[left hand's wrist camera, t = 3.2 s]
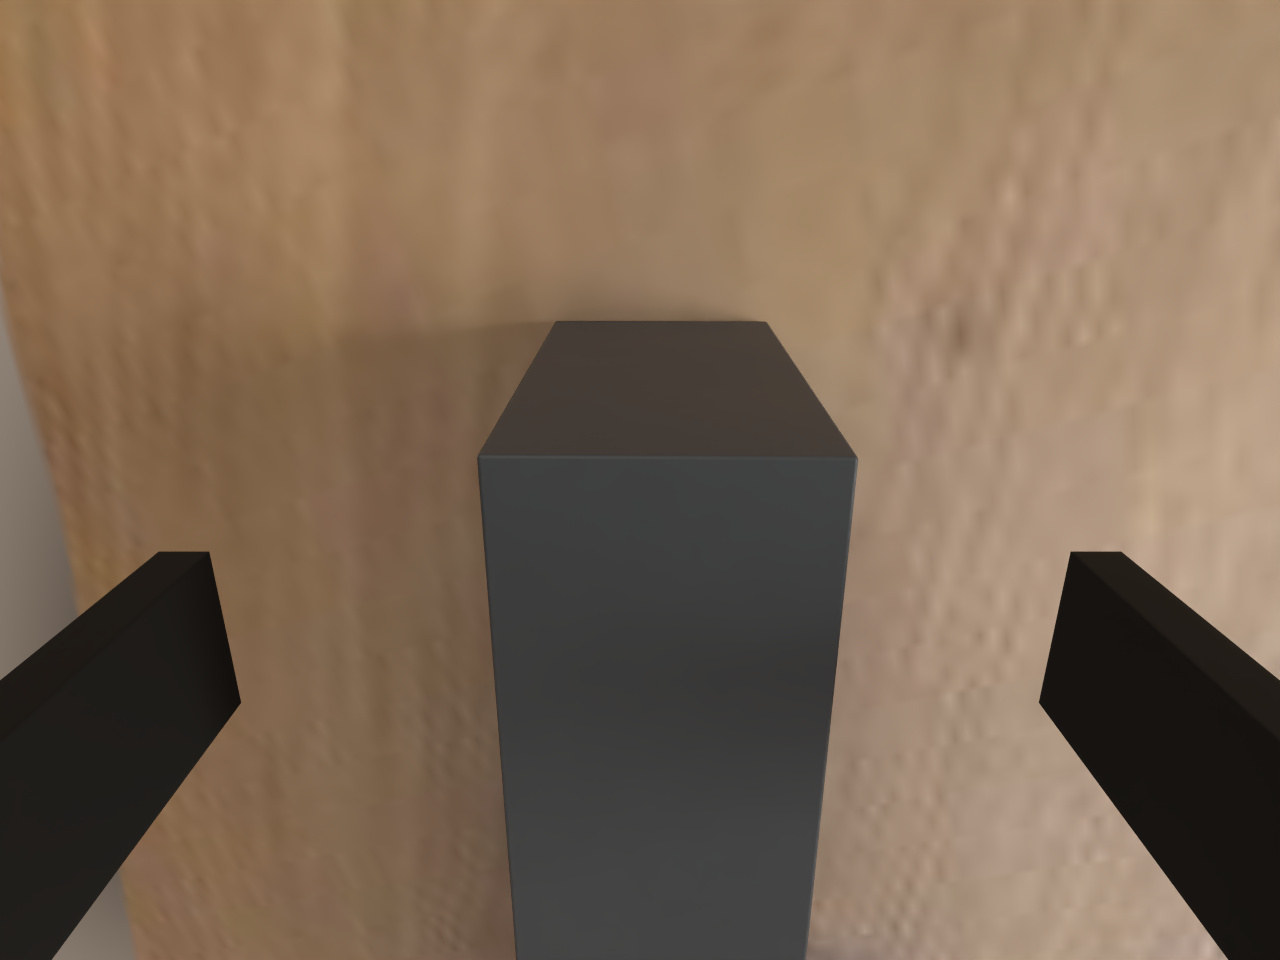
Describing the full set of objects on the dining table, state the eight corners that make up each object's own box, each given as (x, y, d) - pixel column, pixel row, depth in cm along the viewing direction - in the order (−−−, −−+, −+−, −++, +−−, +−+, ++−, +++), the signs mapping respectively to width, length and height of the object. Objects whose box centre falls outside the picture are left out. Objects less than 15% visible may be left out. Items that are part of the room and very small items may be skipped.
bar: (555, 320, 18) (475, 455, 10) (767, 321, 18) (860, 458, 10) (584, 1102, 27) (557, 1488, 19) (722, 1104, 27) (750, 1492, 19)
